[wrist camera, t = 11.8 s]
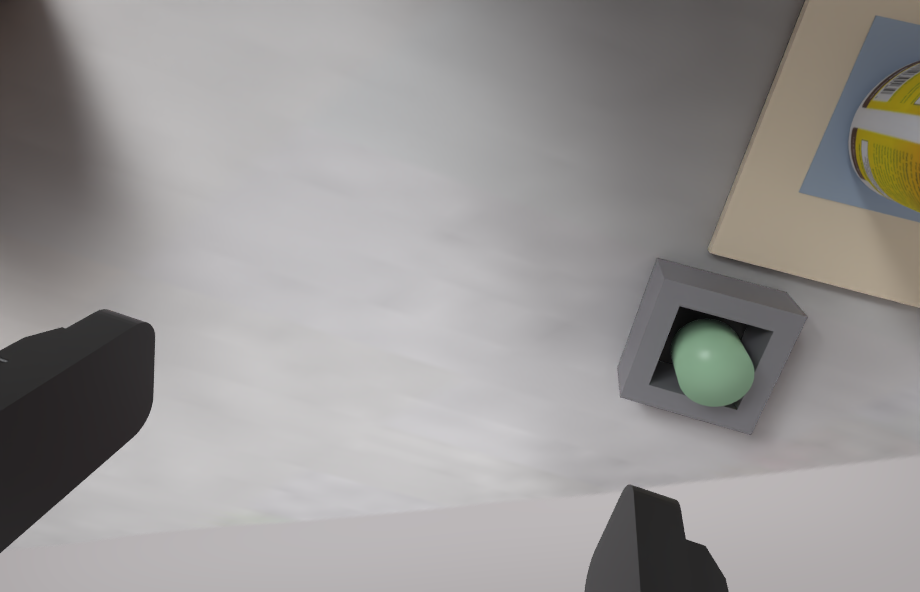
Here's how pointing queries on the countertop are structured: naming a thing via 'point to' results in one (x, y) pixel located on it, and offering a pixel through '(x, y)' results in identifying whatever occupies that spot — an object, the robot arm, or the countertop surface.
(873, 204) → the pad
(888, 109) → the supplement bottle
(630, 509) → the robot arm
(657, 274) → the button housing
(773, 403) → the countertop surface
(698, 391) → the button
